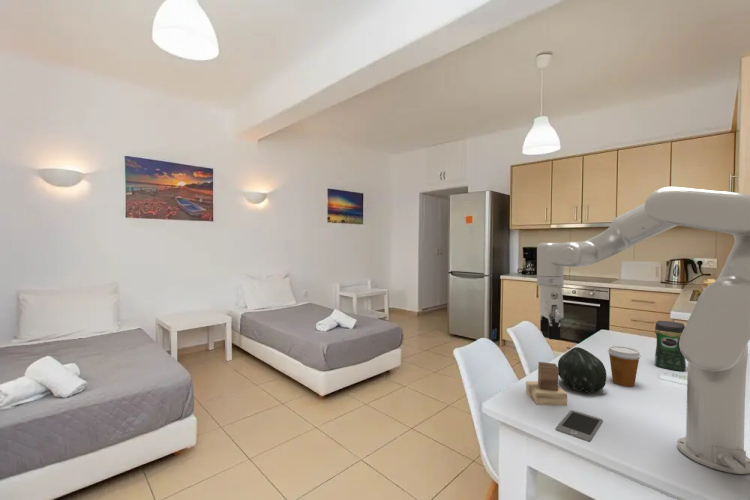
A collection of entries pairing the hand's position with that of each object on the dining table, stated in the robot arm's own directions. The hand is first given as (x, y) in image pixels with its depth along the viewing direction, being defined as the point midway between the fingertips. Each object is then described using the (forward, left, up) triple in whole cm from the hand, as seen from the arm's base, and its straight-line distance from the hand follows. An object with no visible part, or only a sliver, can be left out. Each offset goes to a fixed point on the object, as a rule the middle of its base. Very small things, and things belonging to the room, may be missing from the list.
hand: (549, 335), depth 109 cm
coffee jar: (+43, -55, -21) cm, 73 cm away
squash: (+12, -13, -21) cm, 27 cm away
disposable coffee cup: (+20, -29, -21) cm, 41 cm away
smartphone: (-15, -4, -21) cm, 26 cm away
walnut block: (0, 0, -17) cm, 17 cm away
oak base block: (0, +1, -21) cm, 21 cm away
